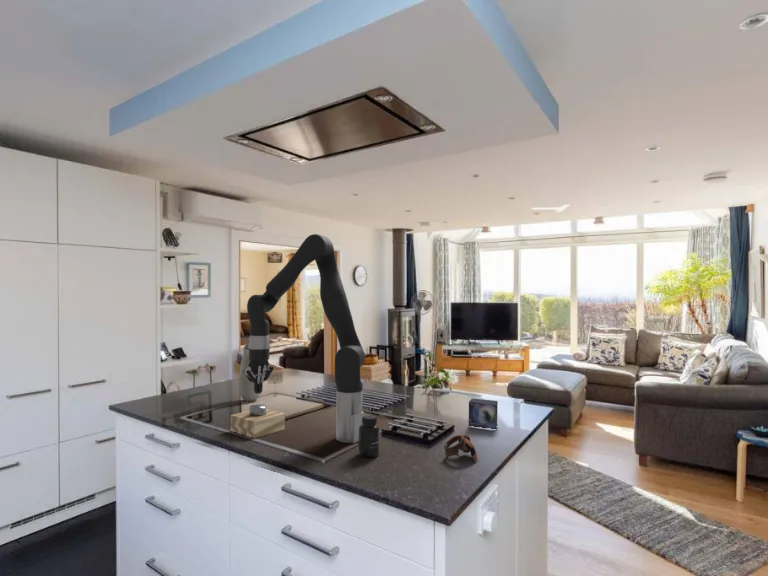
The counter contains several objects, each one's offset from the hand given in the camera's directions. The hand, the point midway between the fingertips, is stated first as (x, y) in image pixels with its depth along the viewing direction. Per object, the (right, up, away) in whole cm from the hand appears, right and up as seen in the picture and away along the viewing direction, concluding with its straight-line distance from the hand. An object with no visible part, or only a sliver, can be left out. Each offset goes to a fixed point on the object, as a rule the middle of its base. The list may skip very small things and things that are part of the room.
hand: (258, 393), depth 163 cm
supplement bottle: (+43, -14, -25) cm, 51 cm away
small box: (+86, -15, +6) cm, 88 cm away
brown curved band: (+72, -14, -27) cm, 79 cm away
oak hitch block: (0, -14, 0) cm, 14 cm away
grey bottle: (-17, -15, +46) cm, 52 cm away
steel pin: (0, -14, -1) cm, 14 cm away
